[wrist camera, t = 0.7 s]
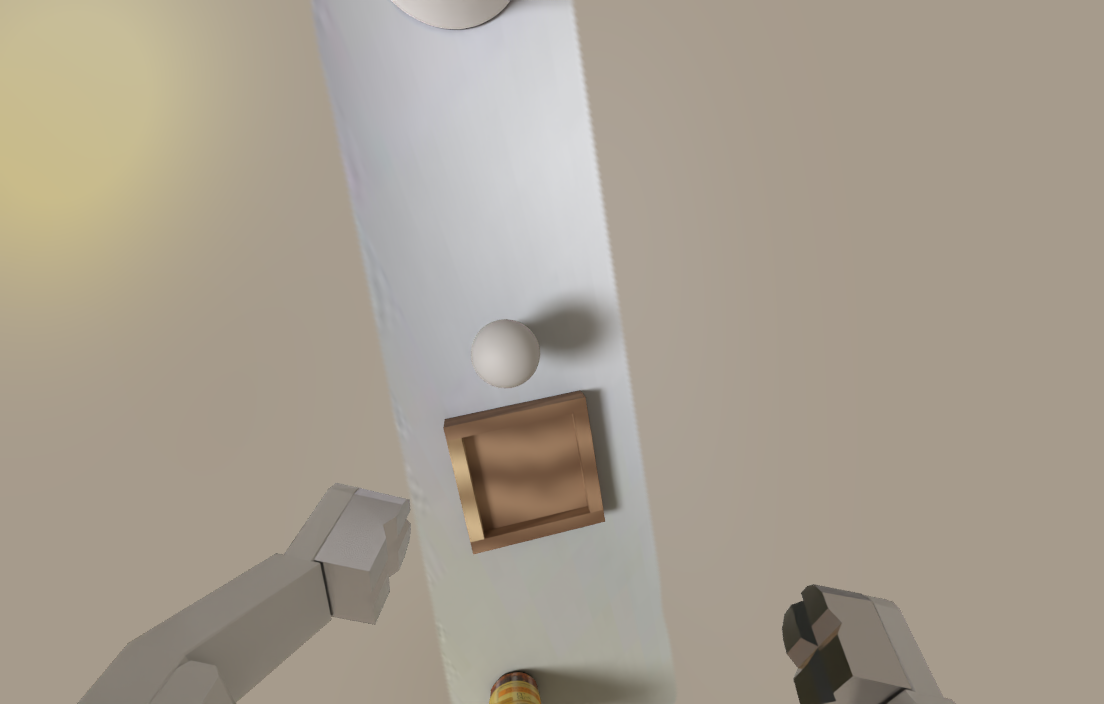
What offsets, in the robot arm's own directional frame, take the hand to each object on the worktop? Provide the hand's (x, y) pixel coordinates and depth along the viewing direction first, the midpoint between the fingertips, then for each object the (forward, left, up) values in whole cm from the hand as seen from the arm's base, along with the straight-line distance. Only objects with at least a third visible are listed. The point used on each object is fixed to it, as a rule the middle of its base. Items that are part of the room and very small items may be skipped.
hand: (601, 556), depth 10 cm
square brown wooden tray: (+18, 0, -41) cm, 45 cm away
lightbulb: (+3, 0, -41) cm, 41 cm away
